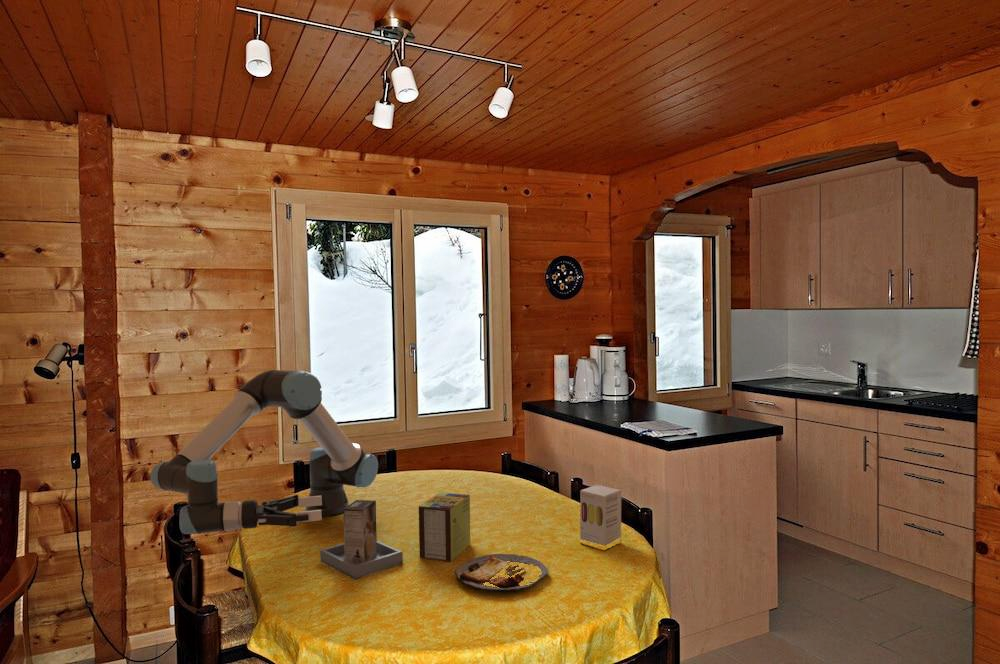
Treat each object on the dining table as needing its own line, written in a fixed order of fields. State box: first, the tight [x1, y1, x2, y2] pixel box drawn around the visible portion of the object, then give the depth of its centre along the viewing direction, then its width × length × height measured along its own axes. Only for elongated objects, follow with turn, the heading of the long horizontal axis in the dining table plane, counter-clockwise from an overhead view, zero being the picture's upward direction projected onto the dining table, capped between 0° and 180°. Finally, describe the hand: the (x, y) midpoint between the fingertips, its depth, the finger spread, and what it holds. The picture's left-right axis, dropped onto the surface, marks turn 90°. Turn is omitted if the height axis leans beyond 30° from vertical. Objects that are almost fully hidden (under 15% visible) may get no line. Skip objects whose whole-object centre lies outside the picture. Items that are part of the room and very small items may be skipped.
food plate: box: [454, 553, 549, 592], centre depth 180 cm, size 25×23×4 cm
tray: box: [319, 540, 404, 580], centre depth 191 cm, size 16×18×4 cm
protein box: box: [418, 491, 471, 562], centre depth 200 cm, size 10×15×16 cm
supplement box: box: [579, 484, 622, 546], centre depth 204 cm, size 10×9×17 cm
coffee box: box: [342, 499, 378, 565], centre depth 191 cm, size 9×6×16 cm
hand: (321, 507), depth 189 cm, fingers open, 13 cm apart
